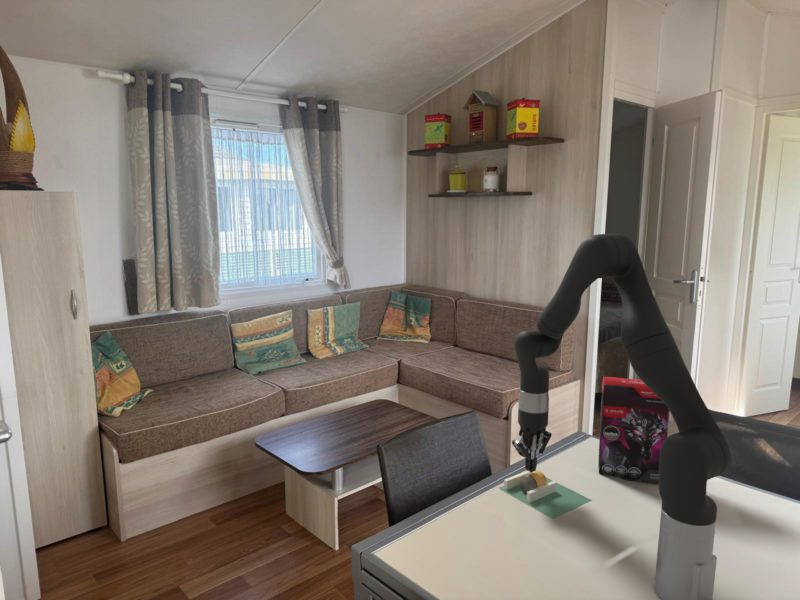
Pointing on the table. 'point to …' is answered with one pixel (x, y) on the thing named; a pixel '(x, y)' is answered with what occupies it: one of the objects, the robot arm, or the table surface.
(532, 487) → the amber plug
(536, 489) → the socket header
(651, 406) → the graphics card box
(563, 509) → the green board
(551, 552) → the table surface
